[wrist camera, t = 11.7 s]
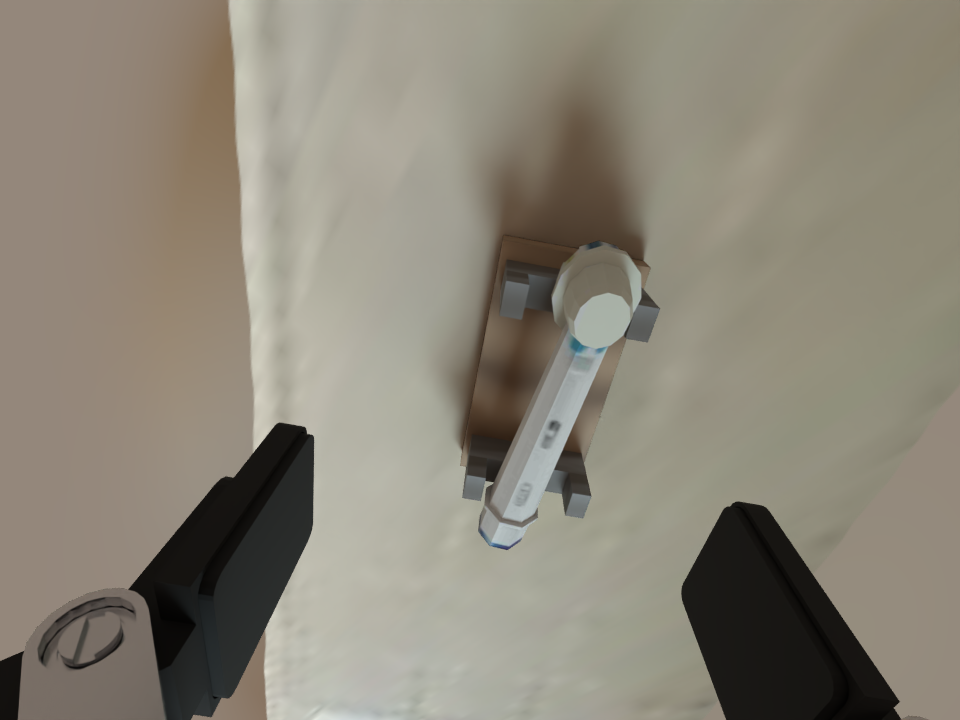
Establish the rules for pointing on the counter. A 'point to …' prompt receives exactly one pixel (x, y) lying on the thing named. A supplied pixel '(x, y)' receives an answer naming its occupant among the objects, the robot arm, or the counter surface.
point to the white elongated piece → (562, 383)
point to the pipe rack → (534, 369)
